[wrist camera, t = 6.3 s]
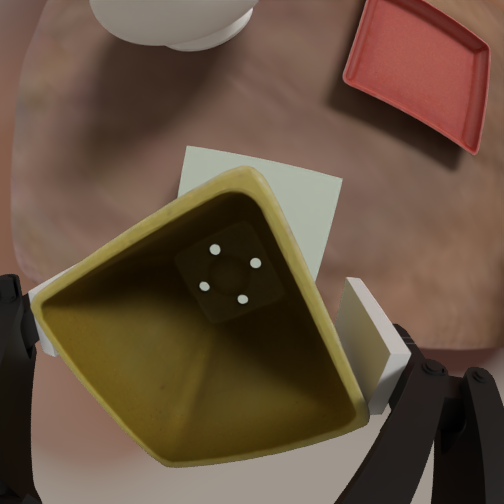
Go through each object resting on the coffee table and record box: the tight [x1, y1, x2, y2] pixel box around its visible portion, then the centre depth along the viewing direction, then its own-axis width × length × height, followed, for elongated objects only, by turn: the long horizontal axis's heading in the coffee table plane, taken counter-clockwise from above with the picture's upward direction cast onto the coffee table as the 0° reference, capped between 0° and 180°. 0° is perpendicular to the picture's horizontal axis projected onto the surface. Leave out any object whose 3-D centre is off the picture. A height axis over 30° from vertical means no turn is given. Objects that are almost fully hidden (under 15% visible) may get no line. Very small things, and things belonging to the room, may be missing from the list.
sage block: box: [177, 146, 343, 304], centre depth 29 cm, size 14×14×6 cm
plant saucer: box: [342, 0, 491, 155], centre depth 23 cm, size 18×18×3 cm
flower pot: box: [30, 166, 370, 468], centre depth 12 cm, size 9×9×9 cm
